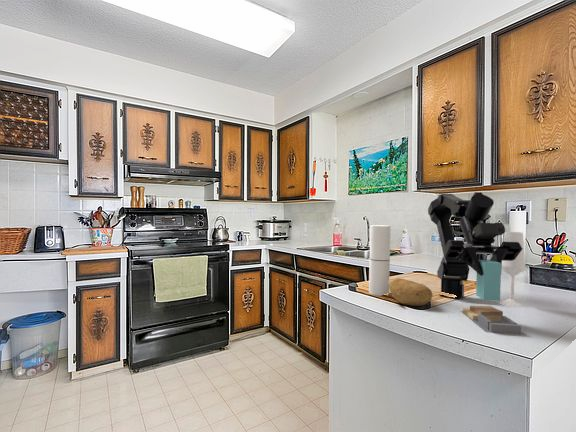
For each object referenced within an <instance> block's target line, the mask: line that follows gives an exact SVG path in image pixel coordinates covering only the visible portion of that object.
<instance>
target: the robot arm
mask: <svg viewBox="0 0 576 432" xmlns="http://www.w3.org/2000/svg"><path fill="white" fill-rule="evenodd" d="M494 202H495V201H494V199H493V198H491V197H490V196H488V195H485V194H483V192H481V191H480V192H478V191H477V192H476V191H475V192H473V195H472V196H471V198H470V199H469V200H468V199H467V200H466V199H462V198H459V197H457V196H456V195H455V194H453V193H441V194H438V197H437V198H435V199H434V200H432V201H431V202H430V203H429V206H428V208H427V214H428V215H429V218H430V220H431V222H433V223H434V225H436V228H437V231H438V235H439V241H440V244H441V245H440V246H441V249H442V254H443V257H442V259H441V261H440V264H439V267H438V269H437V270H436V271H437V272H436V273H437V274H436V275H437V278H438V279H440V280H441V281H440V293H441V292H445V293H449V294H454V295H456V296H457V297H455V300H460V299H461V298H463V297H464V296H465V284H464V281H465V282H467V281H468V279H469V274H470V268H471V269H472V270H473V271H475V273H476V274H477V273H478V274H479V275H481V276H482V275H483V270H482V267H481V265H480V262H479V260H480V259H479V258H478V255H479V254H480V255H482V254H483V255H489V256H490V258H489V260H493V261H496V262H499V263H501V269H502V260H505V261H512V260H515V259H516V257H517V256H518V254H519V253H520V252H521V250H522V247H521V245H520V243H519V242H503V241H502V243H501V244H500V246H497V245H492V244H494V243H495V242H496V240H495V238H496V237H497V236H502V235H504V234H505V232H506V227H505V226H504V223H503V222H491V223H490V222H483V221H485V220H487V217H488V215H489V213H490V211H491V210H492V208H493V206H494ZM452 216H453V218H456V219H457V218H460V219H459V226H458V229H459V230H462V233H463V240H462V239H461V240H460V239H455V236H454V233H453V228H452V226H451V222H450V220H451V219H452Z"/></svg>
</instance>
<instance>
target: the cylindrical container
mask: <svg viewBox="0 0 576 432" xmlns="http://www.w3.org/2000/svg"><path fill="white" fill-rule="evenodd" d="M390 258H391V225H385V224H384V225H382V224H371V225H370V226H369V259H368V261H369V263H368V264H369V265H368V266H369V269H368V270H369V271H368V273H369V274H368V281H369V282H368V294H370V295H373V296H379V297H383V296H382V295H384V294H387V293H389V294H390V288H389V284H390V270H391V269H390V265H391V264H390V263H391V262H390V261H391V259H390Z"/></svg>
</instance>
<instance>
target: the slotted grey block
mask: <svg viewBox="0 0 576 432" xmlns="http://www.w3.org/2000/svg"><path fill="white" fill-rule="evenodd" d="M460 312H461V313H462V314H463V315H464V316H466V317H467V318H468V319H469V320H470V321H472V322H473V323H474V324H475V325H476V326H478V327H479V328H481V330H483V331H484V332H485V333H491V334H492V333H494V334H495V333H496V334H507V335H522V336H527V334H526V333H524V332H523V331H522V325H520V324H518V323H517V322H515V321H514V320H512V319H510V318H509V317H507V316H506V315H503V316H501V322H498V321H490V320H489V319H488V318H486V317H485V316H483V315H482V314H478V320H473V319H471V318H470V317H469V316H468V315H466V314H465V313H464V312H463V311H462V310H460Z"/></svg>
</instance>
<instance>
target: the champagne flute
mask: <svg viewBox="0 0 576 432" xmlns="http://www.w3.org/2000/svg"><path fill="white" fill-rule="evenodd" d="M503 236H504V237H503V241H502V242H519V243H520V245H521V247H522V250H521V252H520V253H519V254H518V256H517V257H516V259H515V260H512V261H505V260H502V268H501V270H503V271H504V272H505V273H506V274H507V275H509V297H508V298H507V299H504V300H500V301H498V303H499V304H500V305H502V306H507V307H519V308H520V307H525V306H524V305H523V304H522V303H520V302H519V301H517V300H516V299H515V298H514V297H515V277H516V276H518V275H519V274H520V273H522V272H523V271H524V270H525V268H527V267H526V255H525V245H524V242H525V241H524V233H523V232H520V231H505V233H503Z"/></svg>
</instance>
